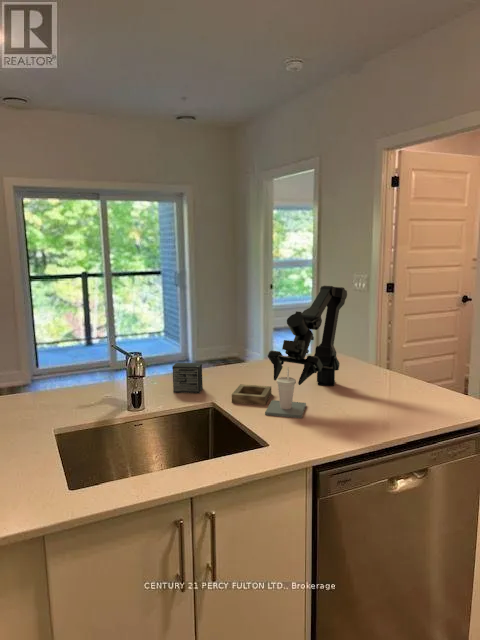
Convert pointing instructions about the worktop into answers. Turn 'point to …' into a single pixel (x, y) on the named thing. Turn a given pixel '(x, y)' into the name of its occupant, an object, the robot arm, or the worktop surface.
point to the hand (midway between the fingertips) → (286, 382)
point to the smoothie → (286, 390)
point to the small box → (187, 377)
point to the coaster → (293, 412)
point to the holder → (251, 394)
